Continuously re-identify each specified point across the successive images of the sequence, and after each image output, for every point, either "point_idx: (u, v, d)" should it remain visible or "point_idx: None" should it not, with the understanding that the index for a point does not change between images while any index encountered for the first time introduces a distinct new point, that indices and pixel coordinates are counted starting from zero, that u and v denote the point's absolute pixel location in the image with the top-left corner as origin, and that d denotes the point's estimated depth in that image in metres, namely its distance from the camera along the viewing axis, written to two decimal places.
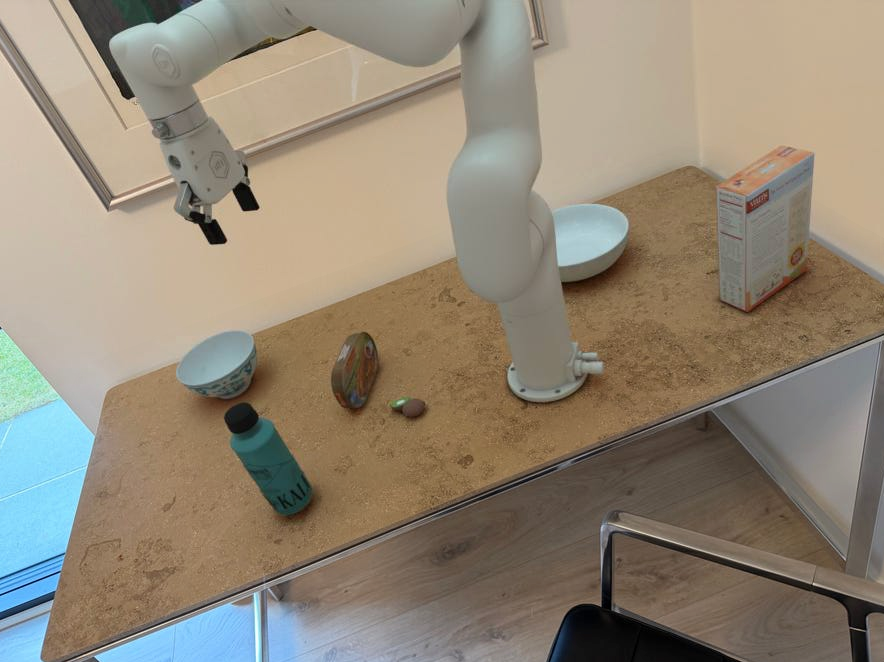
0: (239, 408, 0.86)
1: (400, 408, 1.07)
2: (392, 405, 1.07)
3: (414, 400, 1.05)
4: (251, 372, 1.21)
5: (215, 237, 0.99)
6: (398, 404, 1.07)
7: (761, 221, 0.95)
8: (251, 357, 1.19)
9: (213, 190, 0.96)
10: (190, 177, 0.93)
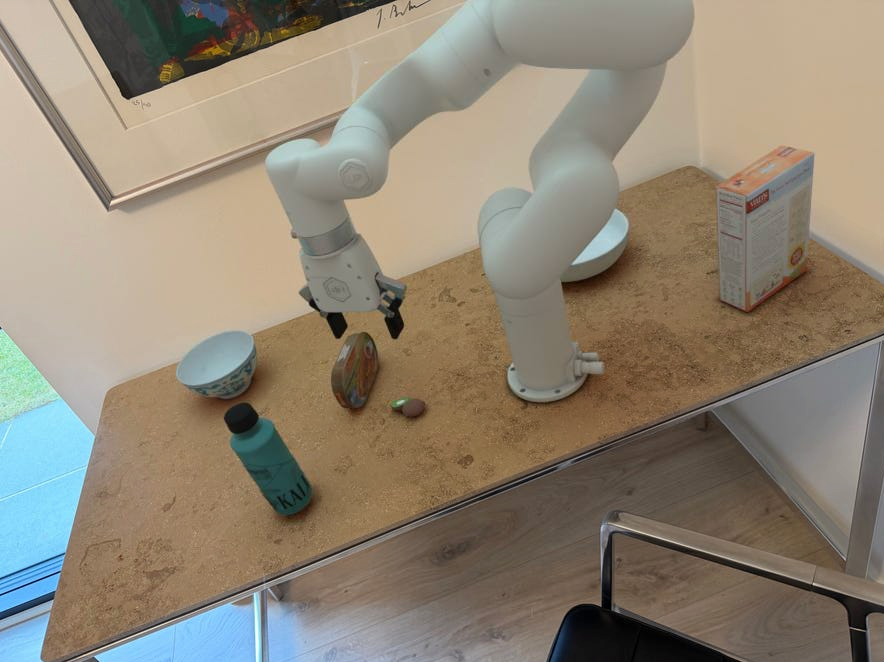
0: (239, 408, 0.86)
1: (400, 408, 1.07)
2: (392, 405, 1.07)
3: (414, 400, 1.05)
4: (251, 372, 1.21)
5: None
6: (398, 404, 1.07)
7: (761, 221, 0.95)
8: (251, 357, 1.19)
9: (322, 302, 0.93)
10: None
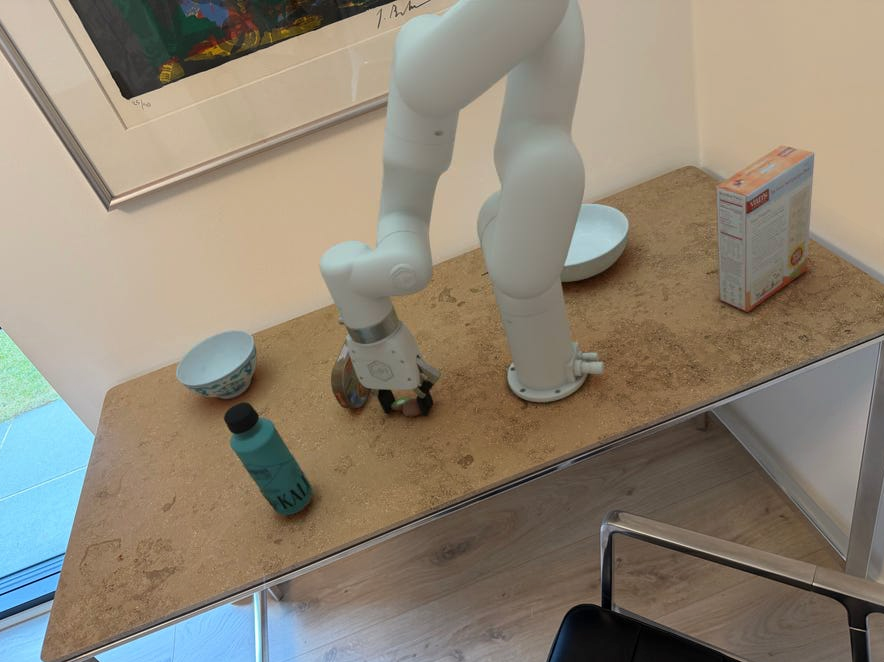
0: (239, 408, 0.86)
1: (400, 408, 1.07)
2: (392, 405, 1.07)
3: (414, 400, 1.05)
4: (251, 372, 1.21)
5: None
6: (398, 404, 1.07)
7: (761, 221, 0.95)
8: (251, 357, 1.19)
9: (366, 381, 1.01)
10: None
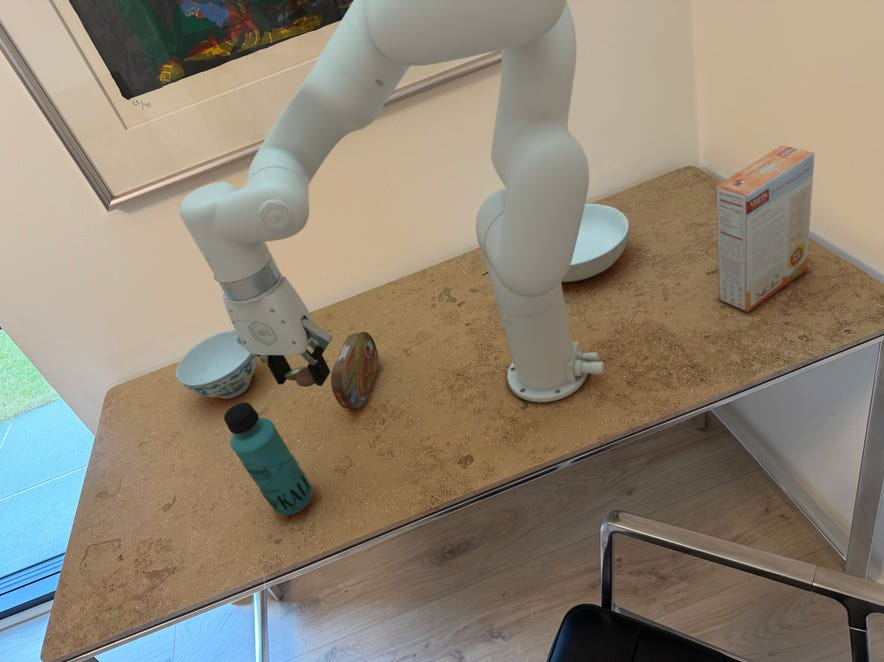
0: (239, 408, 0.86)
1: (294, 378, 0.96)
2: (286, 374, 0.97)
3: None
4: (251, 372, 1.21)
5: None
6: (292, 374, 0.97)
7: (761, 221, 0.95)
8: (251, 357, 1.19)
9: (250, 345, 0.91)
10: None
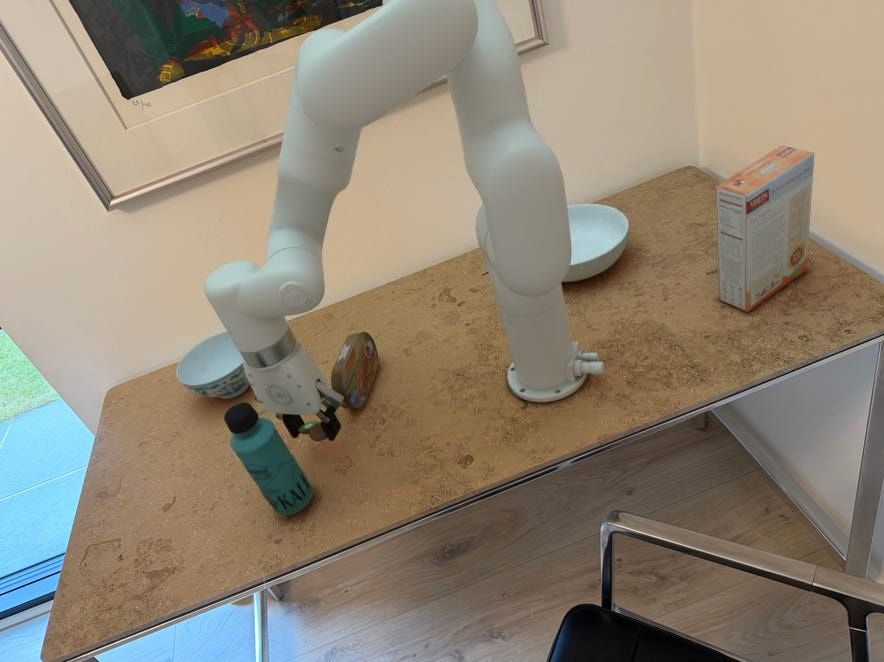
0: (239, 408, 0.86)
1: (307, 432, 1.02)
2: (300, 429, 1.03)
3: None
4: None
5: None
6: (305, 428, 1.03)
7: (761, 221, 0.95)
8: None
9: (266, 405, 0.97)
10: None
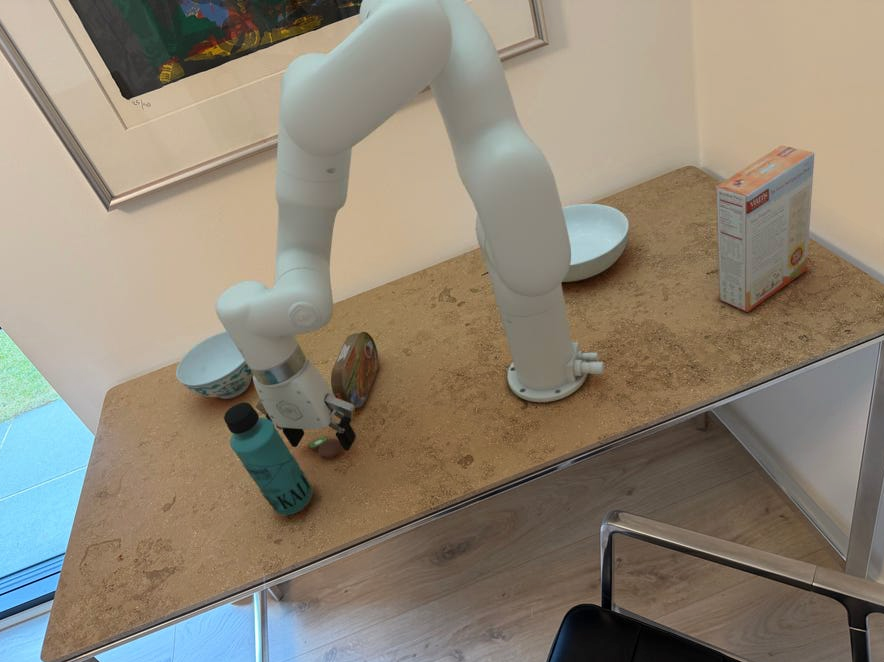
0: (239, 408, 0.86)
1: (317, 448, 1.05)
2: (310, 445, 1.05)
3: (330, 441, 1.03)
4: (251, 372, 1.21)
5: None
6: (315, 445, 1.05)
7: (761, 221, 0.95)
8: None
9: (277, 419, 0.99)
10: None
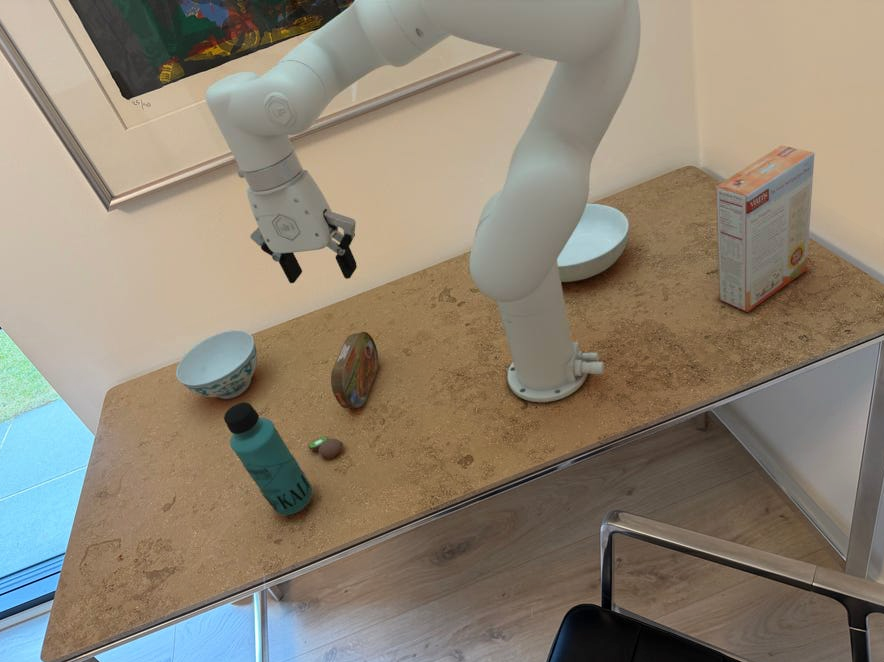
0: (239, 408, 0.86)
1: (317, 448, 1.05)
2: (310, 445, 1.05)
3: (330, 441, 1.03)
4: (251, 372, 1.21)
5: None
6: (315, 445, 1.05)
7: (761, 221, 0.95)
8: (251, 357, 1.19)
9: (273, 243, 0.94)
10: None
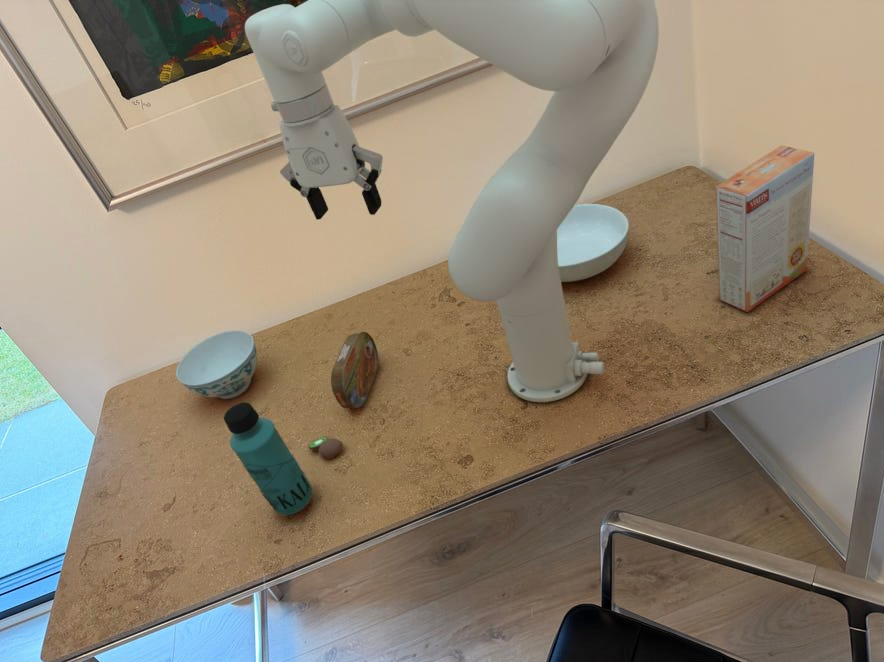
0: (239, 408, 0.86)
1: (317, 448, 1.05)
2: (310, 445, 1.05)
3: (330, 441, 1.03)
4: (251, 372, 1.21)
5: None
6: (315, 445, 1.05)
7: (761, 221, 0.95)
8: (251, 357, 1.19)
9: (302, 177, 0.97)
10: None
